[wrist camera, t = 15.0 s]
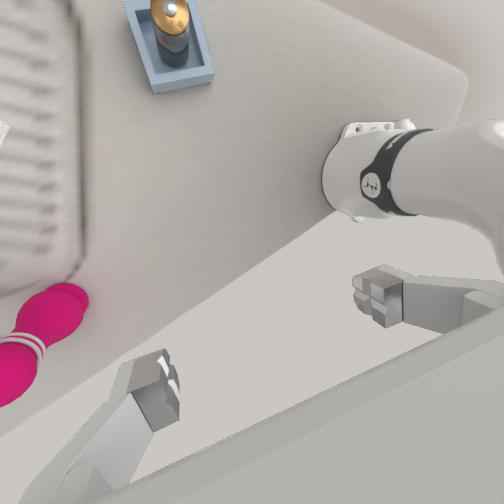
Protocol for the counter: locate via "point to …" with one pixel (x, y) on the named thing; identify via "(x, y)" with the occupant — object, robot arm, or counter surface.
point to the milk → (3, 131)
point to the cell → (171, 30)
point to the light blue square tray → (157, 71)
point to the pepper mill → (37, 335)
